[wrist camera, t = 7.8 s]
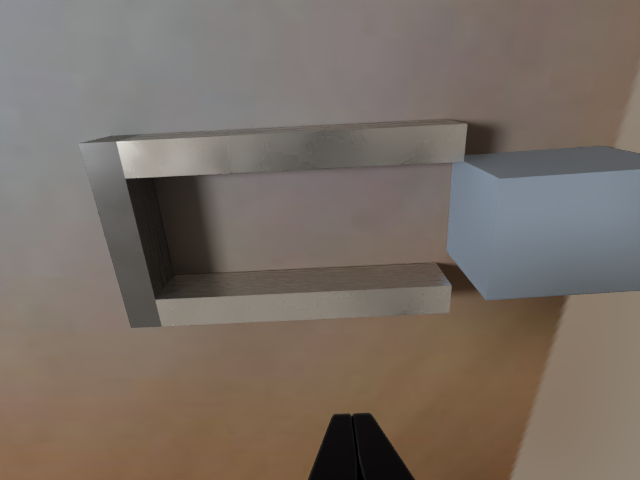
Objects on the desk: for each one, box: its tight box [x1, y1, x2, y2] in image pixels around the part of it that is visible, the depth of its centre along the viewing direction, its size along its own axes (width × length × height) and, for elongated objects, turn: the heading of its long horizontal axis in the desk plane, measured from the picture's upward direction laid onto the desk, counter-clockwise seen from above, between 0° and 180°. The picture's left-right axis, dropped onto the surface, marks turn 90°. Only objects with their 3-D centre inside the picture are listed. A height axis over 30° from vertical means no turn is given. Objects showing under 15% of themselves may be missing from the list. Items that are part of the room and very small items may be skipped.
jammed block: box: [447, 146, 640, 300], centre depth 16 cm, size 7×5×5 cm
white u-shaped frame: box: [79, 119, 467, 328], centre depth 18 cm, size 16×9×2 cm, turn 93°
